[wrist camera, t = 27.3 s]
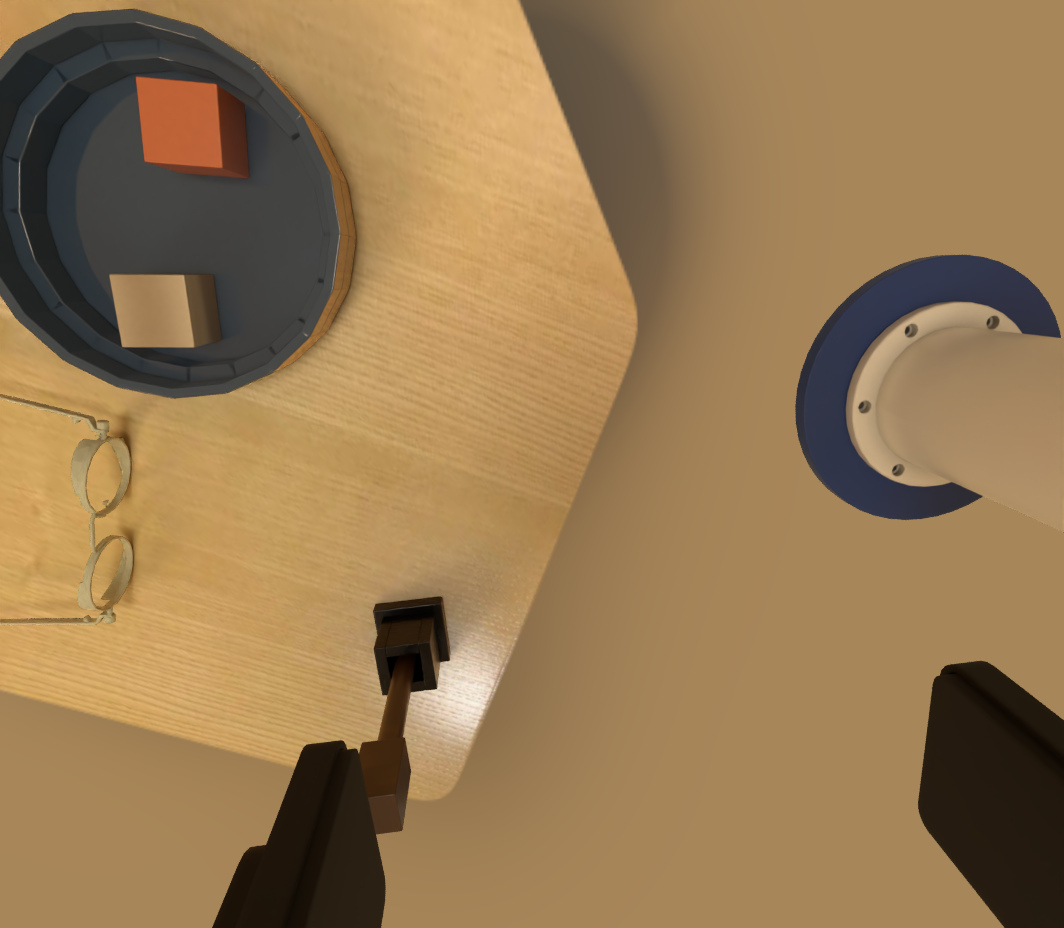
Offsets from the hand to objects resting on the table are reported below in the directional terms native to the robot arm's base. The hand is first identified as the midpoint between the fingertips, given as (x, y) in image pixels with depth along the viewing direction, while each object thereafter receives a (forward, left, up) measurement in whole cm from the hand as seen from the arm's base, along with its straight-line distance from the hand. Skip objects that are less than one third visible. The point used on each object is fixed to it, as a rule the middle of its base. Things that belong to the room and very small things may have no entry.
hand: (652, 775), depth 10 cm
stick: (+10, +18, -33) cm, 39 cm away
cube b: (+21, -7, -34) cm, 40 cm away
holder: (+10, +18, -34) cm, 40 cm away
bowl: (+19, -12, -34) cm, 41 cm away
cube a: (+17, -17, -34) cm, 41 cm away
